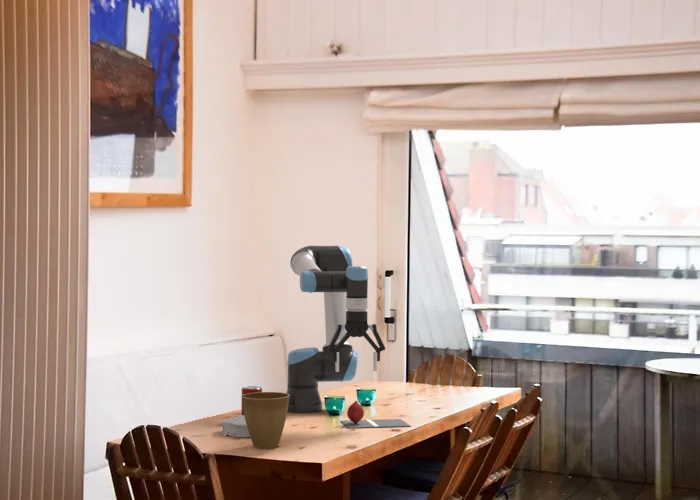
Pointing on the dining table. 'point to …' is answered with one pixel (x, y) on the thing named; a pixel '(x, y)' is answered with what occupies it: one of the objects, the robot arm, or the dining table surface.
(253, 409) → the plant pot
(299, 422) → the dining table surface
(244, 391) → the soda can
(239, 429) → the food container
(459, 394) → the dining table surface
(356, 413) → the onion
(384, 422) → the mat
